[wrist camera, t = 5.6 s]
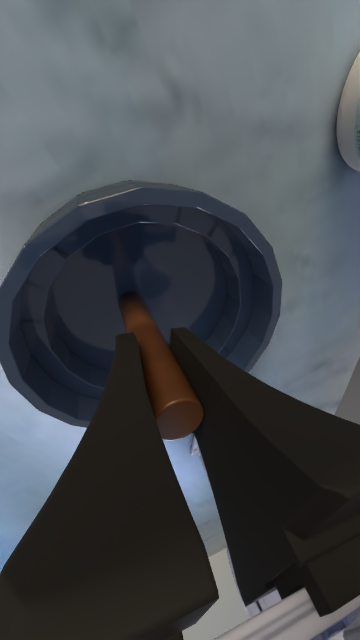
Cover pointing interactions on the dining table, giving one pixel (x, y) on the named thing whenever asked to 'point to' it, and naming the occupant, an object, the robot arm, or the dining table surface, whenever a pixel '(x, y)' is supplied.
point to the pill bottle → (350, 118)
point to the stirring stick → (161, 373)
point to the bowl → (131, 288)
